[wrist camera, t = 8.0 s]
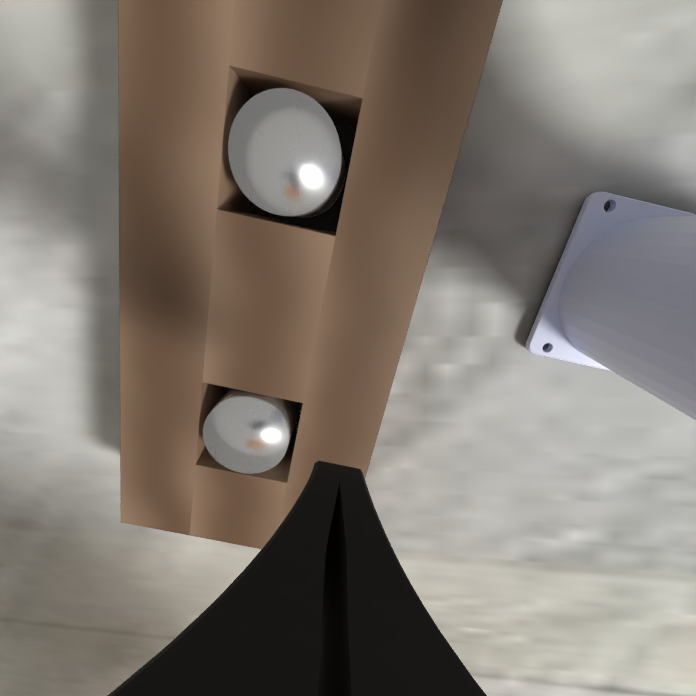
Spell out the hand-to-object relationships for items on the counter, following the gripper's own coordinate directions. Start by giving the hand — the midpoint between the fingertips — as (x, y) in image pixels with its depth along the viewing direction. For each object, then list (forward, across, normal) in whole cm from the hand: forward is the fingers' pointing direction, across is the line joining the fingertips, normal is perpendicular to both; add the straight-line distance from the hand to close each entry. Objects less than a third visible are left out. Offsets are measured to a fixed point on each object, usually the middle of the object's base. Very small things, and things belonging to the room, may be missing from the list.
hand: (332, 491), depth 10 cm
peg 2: (+10, +4, +3) cm, 11 cm away
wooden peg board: (+10, +4, -3) cm, 11 cm away
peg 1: (+10, +4, -9) cm, 14 cm away
